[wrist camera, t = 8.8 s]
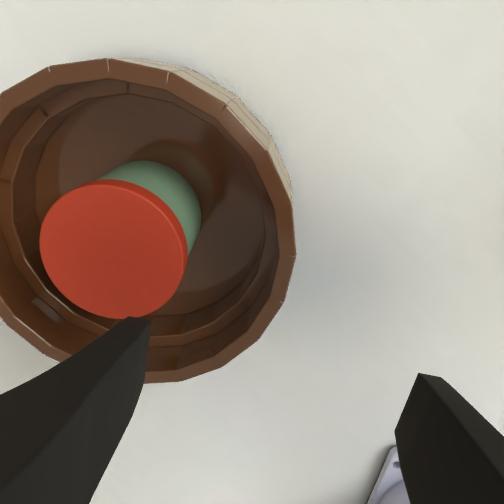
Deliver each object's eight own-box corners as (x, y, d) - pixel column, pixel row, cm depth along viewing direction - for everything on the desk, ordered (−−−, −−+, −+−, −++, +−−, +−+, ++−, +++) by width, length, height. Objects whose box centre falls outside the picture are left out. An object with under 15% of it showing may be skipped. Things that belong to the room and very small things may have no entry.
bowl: (261, 351, 22) (256, 409, 19) (16, 303, 22) (-37, 351, 18) (323, 96, 17) (334, 105, 14) (12, 30, 17) (-61, 22, 14)
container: (196, 275, 20) (174, 331, 16) (89, 253, 20) (38, 304, 16) (213, 169, 18) (193, 202, 14) (95, 145, 18) (38, 170, 14)
